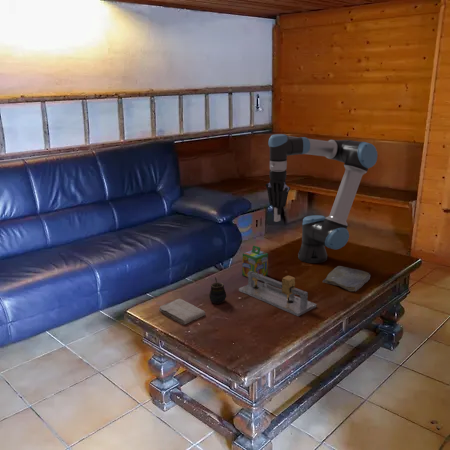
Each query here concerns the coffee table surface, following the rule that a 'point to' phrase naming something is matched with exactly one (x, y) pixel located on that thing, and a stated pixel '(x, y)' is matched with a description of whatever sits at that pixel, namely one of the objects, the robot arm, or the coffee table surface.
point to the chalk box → (255, 262)
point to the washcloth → (181, 311)
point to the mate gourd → (217, 293)
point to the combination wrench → (277, 289)
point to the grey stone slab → (347, 278)
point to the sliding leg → (287, 285)
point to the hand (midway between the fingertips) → (277, 220)
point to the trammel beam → (277, 294)
